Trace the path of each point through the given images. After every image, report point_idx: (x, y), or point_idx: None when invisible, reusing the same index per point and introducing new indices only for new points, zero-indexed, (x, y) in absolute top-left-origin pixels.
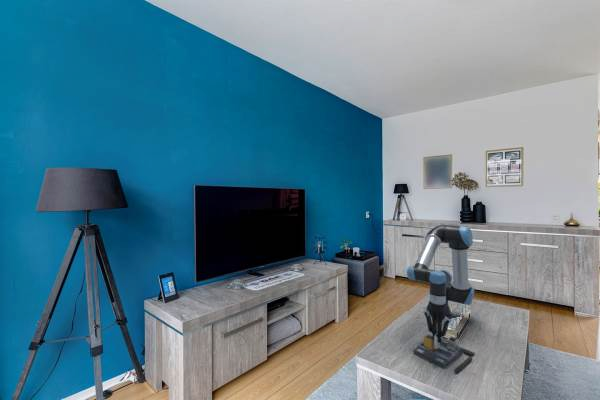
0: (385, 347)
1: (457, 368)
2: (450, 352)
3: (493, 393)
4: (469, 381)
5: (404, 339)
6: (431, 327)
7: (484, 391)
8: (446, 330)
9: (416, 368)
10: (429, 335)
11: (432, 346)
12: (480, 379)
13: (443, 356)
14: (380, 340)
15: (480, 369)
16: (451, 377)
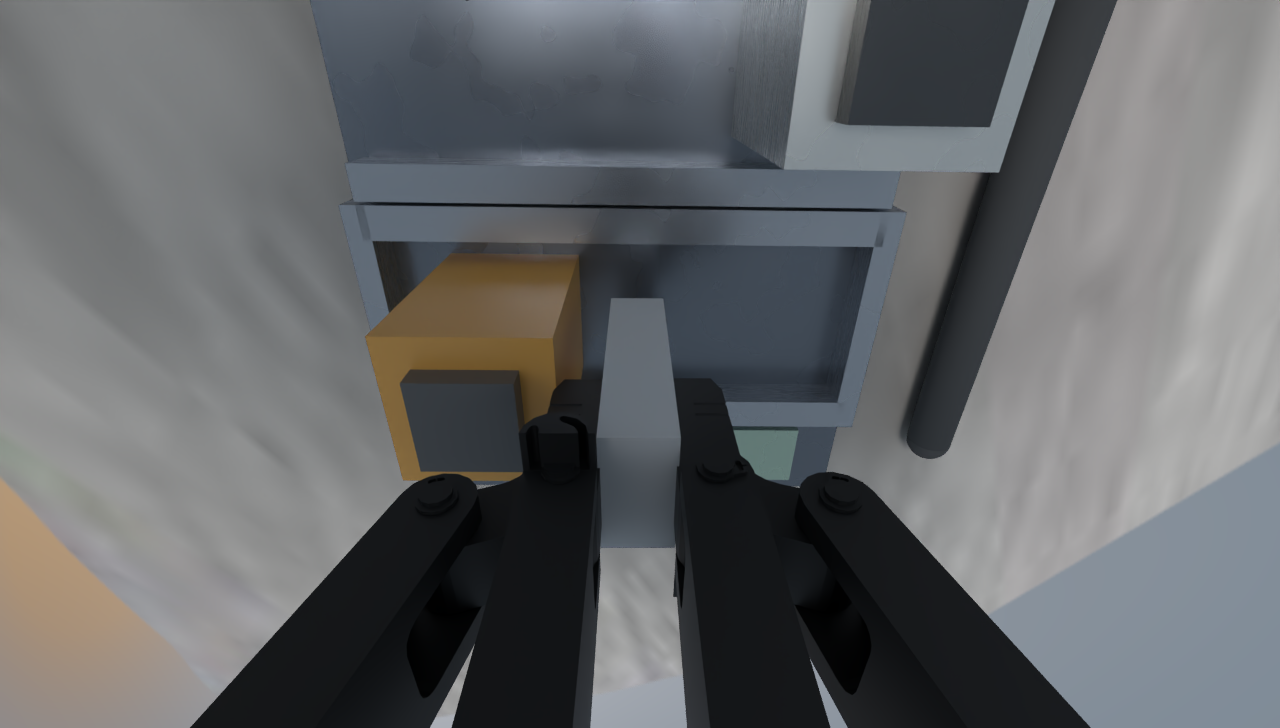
0: (212, 552)
1: (948, 427)
2: (829, 233)
3: (1251, 449)
4: (1047, 447)
5: (92, 241)
6: (401, 579)
7: (1171, 478)
8: (1016, 680)
9: (614, 599)
10: (442, 403)
11: (575, 363)
12: (1162, 339)
13: (779, 414)
14: (47, 494)
15: (1198, 117)
16: (890, 507)
